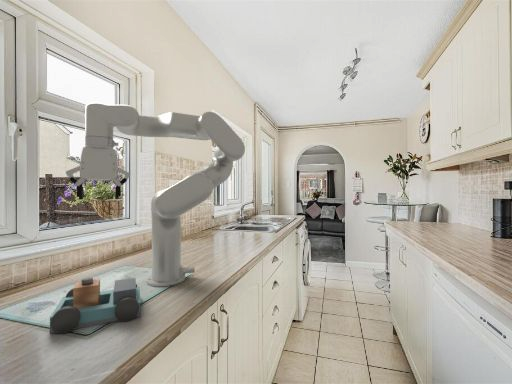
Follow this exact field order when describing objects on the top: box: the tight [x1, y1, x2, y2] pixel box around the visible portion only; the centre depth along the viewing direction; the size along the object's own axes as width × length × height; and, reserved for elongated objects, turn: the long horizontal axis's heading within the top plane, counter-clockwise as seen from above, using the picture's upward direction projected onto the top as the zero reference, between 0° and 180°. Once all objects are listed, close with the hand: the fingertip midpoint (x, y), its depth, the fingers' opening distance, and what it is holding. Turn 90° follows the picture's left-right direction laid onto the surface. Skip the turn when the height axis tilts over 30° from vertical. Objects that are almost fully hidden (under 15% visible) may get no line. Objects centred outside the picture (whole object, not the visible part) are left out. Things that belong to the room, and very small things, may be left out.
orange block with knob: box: [72, 277, 101, 309], centre depth 65 cm, size 5×5×8 cm
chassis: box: [49, 277, 142, 335], centre depth 66 cm, size 18×15×6 cm
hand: (99, 199), depth 82 cm, fingers open, 9 cm apart
